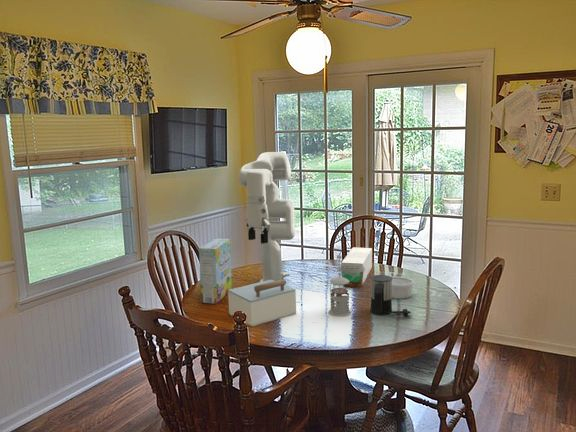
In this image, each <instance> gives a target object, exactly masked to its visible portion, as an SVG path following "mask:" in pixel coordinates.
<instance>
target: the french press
mask: <svg viewBox="0 0 576 432" xmlns="http://www.w3.org/2000/svg"><path fill="white" fill-rule="evenodd" d="M336 258H337V259H338V276H337V277H333V278H332V279H331V280H329V282H330V285H329V292H330V294H329V295H330V296H329V297H330V309H329V310H328V311H327V314H328V315H330V316H331V317H336V318H337V317H338V318H341V317H343V318H344V317H349V316H350V315H351V314H352V311H351V310H350V294H349V289H348V288H346V287H341V286H343V285H346V284H348V283H349V280H347V279H346V278H343V277H342V276H341V275H340V273H341V272H340V271H341V270H340V267H341V263H340V260H341V259H342V255H341V254H338V255H336ZM332 285H333V287H332ZM335 286H338V287H335ZM331 287H332V288H331Z"/></svg>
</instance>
